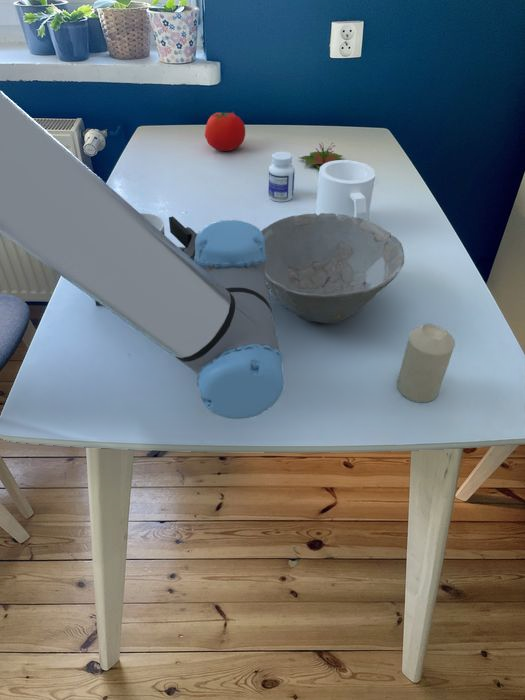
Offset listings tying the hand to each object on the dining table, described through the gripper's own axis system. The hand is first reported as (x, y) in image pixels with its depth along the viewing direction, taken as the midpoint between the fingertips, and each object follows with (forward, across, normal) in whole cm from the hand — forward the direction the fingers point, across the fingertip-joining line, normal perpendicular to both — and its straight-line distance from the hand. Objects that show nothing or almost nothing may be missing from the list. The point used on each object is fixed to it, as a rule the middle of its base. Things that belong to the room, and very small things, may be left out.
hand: (132, 235), depth 85 cm
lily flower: (+21, +56, -8) cm, 60 cm away
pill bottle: (+12, +37, -8) cm, 40 cm away
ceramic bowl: (-22, +22, -8) cm, 32 cm away
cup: (-2, 0, -7) cm, 8 cm away
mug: (-5, +40, -8) cm, 41 cm away
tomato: (+40, +40, -8) cm, 57 cm away
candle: (-44, +21, -8) cm, 49 cm away
